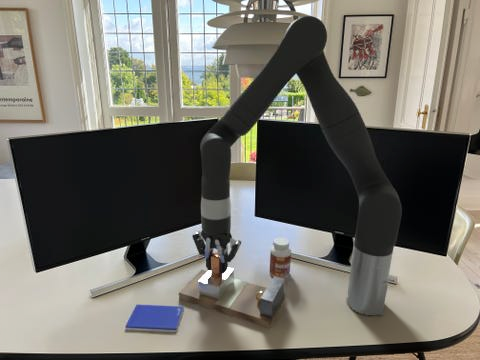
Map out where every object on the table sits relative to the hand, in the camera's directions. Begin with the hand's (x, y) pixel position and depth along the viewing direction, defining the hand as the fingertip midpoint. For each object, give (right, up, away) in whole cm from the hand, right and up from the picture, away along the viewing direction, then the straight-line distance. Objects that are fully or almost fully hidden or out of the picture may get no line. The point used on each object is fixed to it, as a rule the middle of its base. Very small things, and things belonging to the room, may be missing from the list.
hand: (216, 270), depth 92 cm
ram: (0, -5, +2) cm, 5 cm away
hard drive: (-15, -11, -7) cm, 19 cm away
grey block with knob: (+13, -7, -4) cm, 16 cm away
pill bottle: (+18, -4, +12) cm, 23 cm away
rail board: (+4, -8, +1) cm, 9 cm away
